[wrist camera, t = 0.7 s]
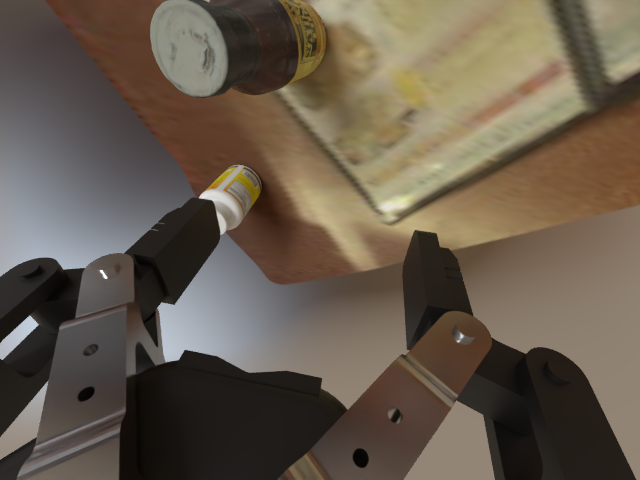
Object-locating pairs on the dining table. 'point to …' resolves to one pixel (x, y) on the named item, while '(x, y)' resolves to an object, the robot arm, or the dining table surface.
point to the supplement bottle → (233, 195)
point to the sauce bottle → (236, 44)
